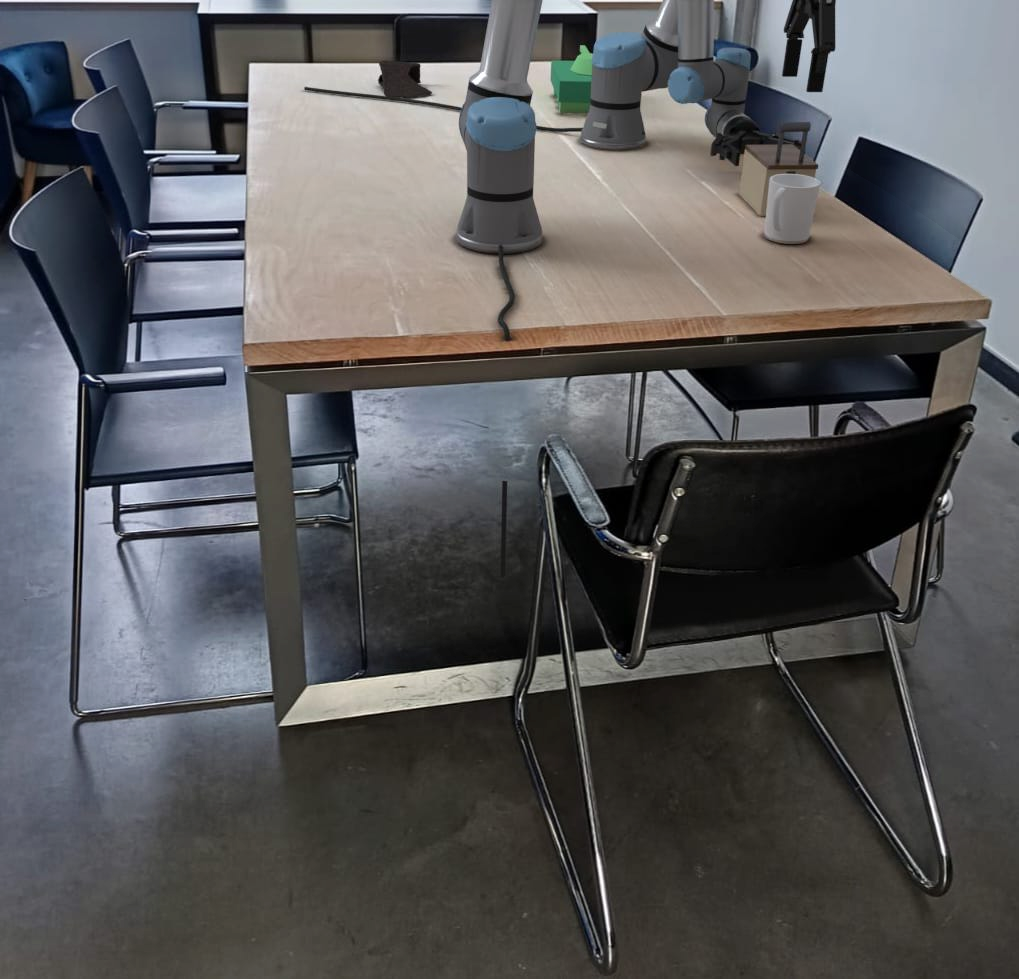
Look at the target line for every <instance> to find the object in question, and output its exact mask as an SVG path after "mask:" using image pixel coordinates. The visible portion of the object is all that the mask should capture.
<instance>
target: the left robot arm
mask: <svg viewBox="0 0 1019 979" xmlns="http://www.w3.org/2000/svg"><path fill="white" fill-rule="evenodd" d="M543 1H544V0H491V3H490V9H489V15H488V21H487V26H486V32H485V37H484V43H483V48H482V55H481V58H480V65H479V69H478V71H477V72H475V73H474V74H472V75H471V76H470V77H468V78H469V79H468V82H467V83H468V84H467V90H466V95H465V101H464V102H463V104H462V107H461V108H462V109H461V111H459V115H458V129H459V134H460V137H461V140H462V142H463V144H464V147H465V151H466V192H467V193H466V198H465V202H464V205H463V209H462V211H461V214H460V218H459V220H458V224H457V227H456V241H457V243H458V244H459V245H461V246H462V247H464V248H466V249H468V250H470V251H475V252H479V253H486V254H497V255H498V263H499V269H500V271H501V275H502V277H503V278H502V279H503V282H504V284H505V286H506V288H507V290H508V293H509V299H508V301H507V303H506V304H505V306H504V307H503V308H502V309H501V310H500V311H499V313H498V316H497V322H498V325H500V327H501V328H502V330H503V335H504V341H505V342H510V341H511V334H510V329H509V326H508V324H507V322H505V321H504V317H505V315H506V313H507V312H508V311H509V310H510V309H511V308H512V306H513V305H514V302H515V298H516V296H515V290H514V288H513V285H512V284H511V282H510V278H509V276H508V273H507V270H506V266H505V262H504V255H506V254H507V255H508V254H517V253H524V252H527V251H530V250H533V249H536V248H538V247H539V246H540V245H541V244H542V243H543V229H542V224H541V221H540V220H541V219H540V218H539V214H538V213H539V212H538V210H537V206H536V204H535V199H534V184H535V181H534V180H535V148H536V147H535V146H536V134H537V129H536V126H537V122H536V113H535V110H534V109H533V107H532V106H531V104H532V98H533V94H534V91H533V89H532V87H531V85H530V84H529V82H528V75H529V71H530V65H531V60H532V55H533V51H534V46H535V40H536V34H537V29H538V26H539V22H540V15H541V11H542V10H541V9H542V6H543ZM836 3H837V0H791V4H790V8H789V11H788V13H787V17H786V20H785V24H784V25H783V33H784V34H785V36H786V45H785V52H784V59H783V65H782V72H781V77H783V78H792V77H793V78H794V77H795V78H797V77H798V73H799V65H800V60H801V52H802V45H803V39H805V33H804V32H805V29H806V27H807V25H808V22H809V21H810V20H811V26H812V27H811V28H812V36H813V44H814V47H813V48H812V49H811V51H810V53H811V59H810V63H809V64H810V65H809V71H808V76H807V77H808V78H807V85H806V90H805V91H806V93H823V92H824V91H823V90H824V85H825V78H826V72H827V65H828V59H829V54H831V52H835V51H836ZM507 513H508V480H502V481H501V522H500V523H501V526H500V528H501V529H500V530H501V531H500V532H501V533H500V577H499V578H502V579H504V578H506V562H507V560H506V559H507V557H506V556H507V554H506V553H507V518H508V516H507Z"/></svg>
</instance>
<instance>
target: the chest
mask: <svg viewBox="0 0 1019 979" xmlns="http://www.w3.org/2000/svg"><path fill="white" fill-rule="evenodd" d="M816 172H817V169H776V170H768V169H767V168H766V167H765V166H764V165H762V164H761V163H760V162H759V161H758V160H757V159H756V158H755V157H754V156H752V155H751V154H750V153H749V152H748V151H747V150H746V149H745V153H744V154H743V160H742V168H741V174H740V175H741V177H740V183H739V191H738V192H739V193H738V195H739V196H740V197H741V198H742V199H743V200H744V201H745V202H746V203H747V205H748V206H750V207H751V209H753V210H754V212H756V214H758V216H759V217H766V210H767V199H768V189H769V180H770V177H772V176H774V175H778V174H799V175H806V176H810V177H813V178H816Z"/></svg>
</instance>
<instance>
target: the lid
mask: <svg viewBox="0 0 1019 979" xmlns="http://www.w3.org/2000/svg"><path fill="white" fill-rule="evenodd" d="M811 126H812V125H811V122H810V121H780V122H779V123H778V134H779V139H778V145H745V149H746V150H747V151H748V152H749V153H750V154H751V155H752V156H754V157H755V158H756V159H757V160H758V161H759V162H760V163H761V164H762V165H764V166H765V167H766V168H767V169H768V170H776V169H816V170H818V169H819V164H818V163H817V162H815V161H814V159H812V158H811V157H809V156H808V155H807V154H806V146H807V141H808V133H809V132H810V131H811ZM785 133H802V137H801V141H802V143H801V149H800V150H799V149H798V148H796V147H795V146H794V145H793V144H787V145H782V143H783V137H784V136H785ZM804 153H805V154H804Z"/></svg>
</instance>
